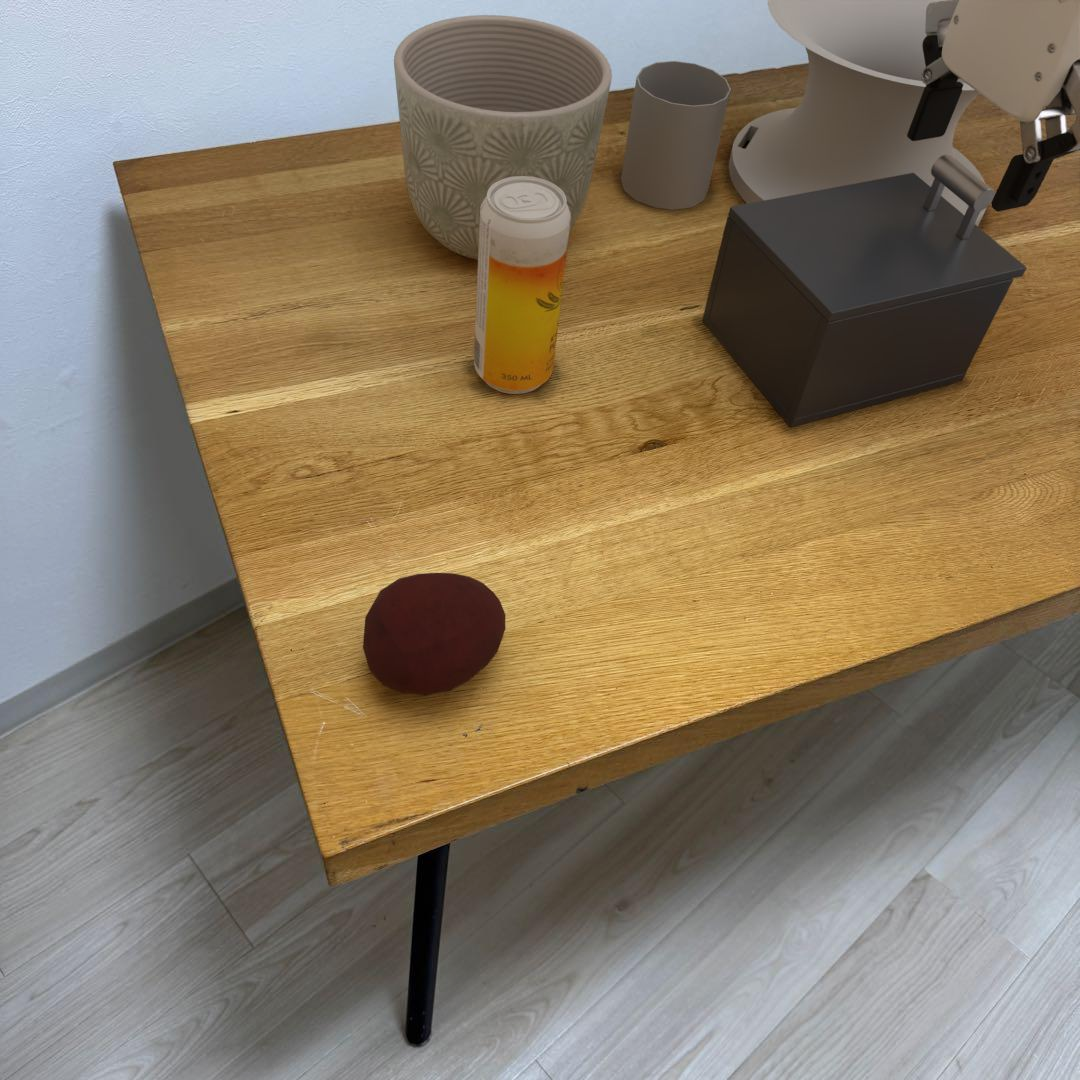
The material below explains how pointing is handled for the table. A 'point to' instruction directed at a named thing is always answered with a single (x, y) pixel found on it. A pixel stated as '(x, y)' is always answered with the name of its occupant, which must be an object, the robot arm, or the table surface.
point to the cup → (674, 134)
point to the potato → (432, 632)
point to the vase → (847, 104)
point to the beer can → (520, 282)
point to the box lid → (880, 240)
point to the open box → (837, 338)
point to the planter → (495, 116)
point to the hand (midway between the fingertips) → (965, 170)
